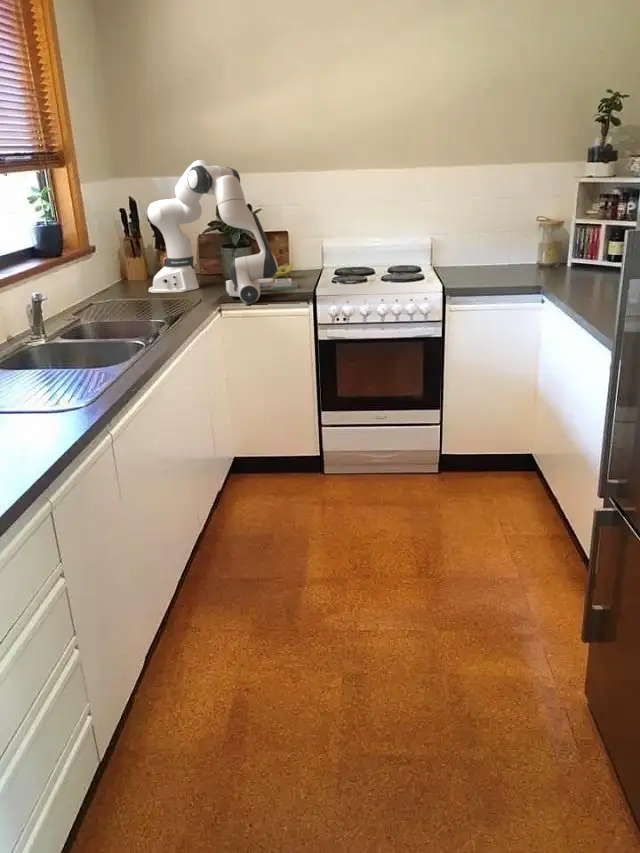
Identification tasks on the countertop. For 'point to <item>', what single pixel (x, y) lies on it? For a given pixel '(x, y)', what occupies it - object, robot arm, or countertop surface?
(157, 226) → the robot arm
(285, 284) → the board
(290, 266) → the plastic component
